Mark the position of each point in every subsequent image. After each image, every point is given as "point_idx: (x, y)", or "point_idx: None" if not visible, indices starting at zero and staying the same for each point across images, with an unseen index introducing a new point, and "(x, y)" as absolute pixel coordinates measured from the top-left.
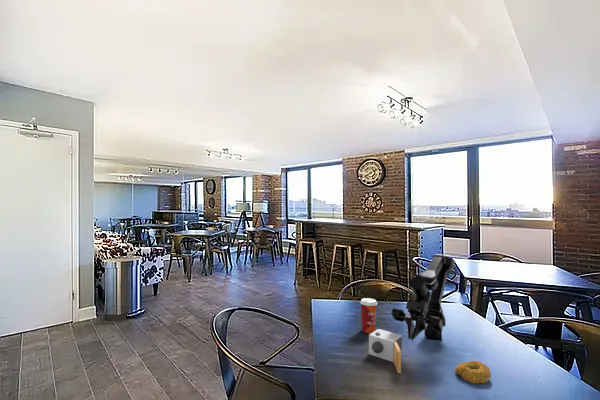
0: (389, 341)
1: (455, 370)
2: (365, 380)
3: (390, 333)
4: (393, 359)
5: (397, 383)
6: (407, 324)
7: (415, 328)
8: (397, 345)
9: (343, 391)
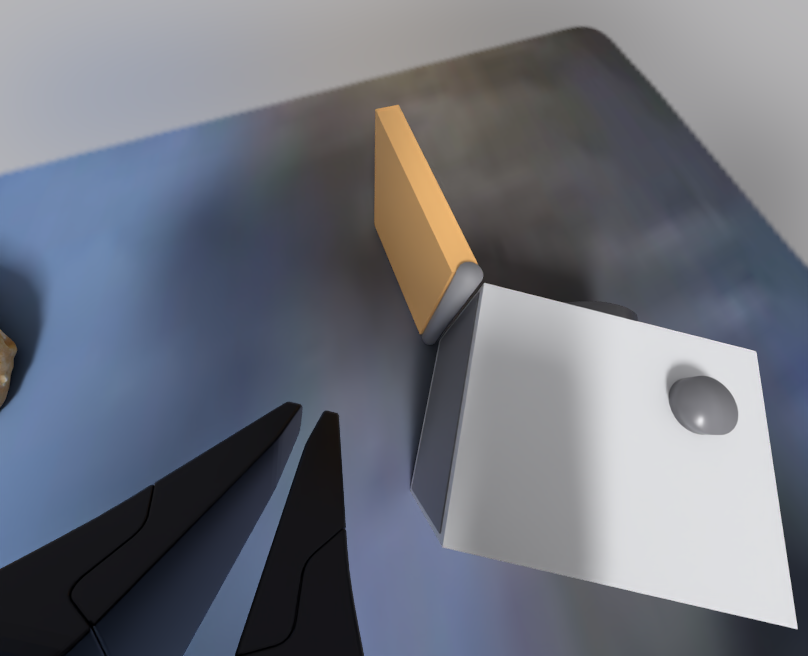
0: (524, 297)
1: (3, 347)
2: (505, 126)
3: (594, 527)
4: (442, 338)
5: None
6: (354, 652)
7: (135, 539)
8: (427, 205)
9: (543, 48)
